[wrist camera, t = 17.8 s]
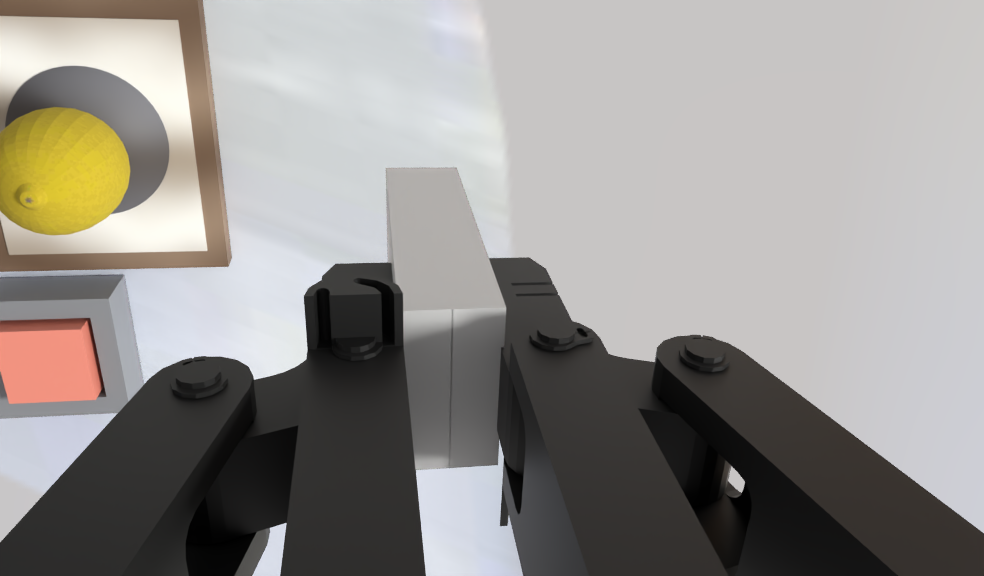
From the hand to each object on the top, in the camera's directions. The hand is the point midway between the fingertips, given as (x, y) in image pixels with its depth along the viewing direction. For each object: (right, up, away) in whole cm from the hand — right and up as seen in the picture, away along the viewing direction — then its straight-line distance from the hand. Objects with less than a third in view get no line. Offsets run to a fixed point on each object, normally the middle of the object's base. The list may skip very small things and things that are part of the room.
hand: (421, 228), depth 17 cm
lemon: (-19, +6, +22) cm, 30 cm away
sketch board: (-19, +7, +23) cm, 31 cm away
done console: (-23, -4, +28) cm, 36 cm away
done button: (-23, -4, +27) cm, 35 cm away
